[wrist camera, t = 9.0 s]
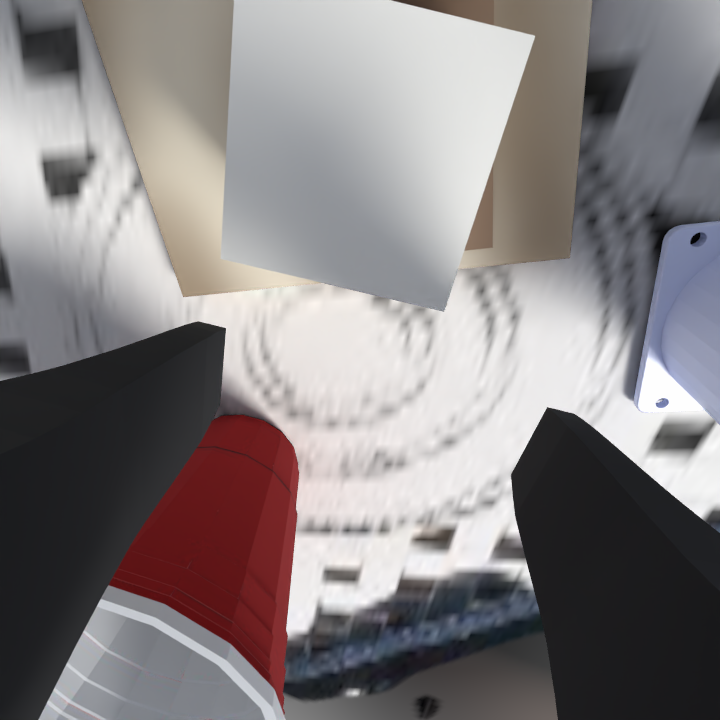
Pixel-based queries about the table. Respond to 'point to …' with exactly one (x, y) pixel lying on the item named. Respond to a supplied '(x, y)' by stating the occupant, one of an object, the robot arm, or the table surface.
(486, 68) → the white tabletop archway
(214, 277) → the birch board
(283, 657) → the plastic cup
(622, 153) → the table surface
